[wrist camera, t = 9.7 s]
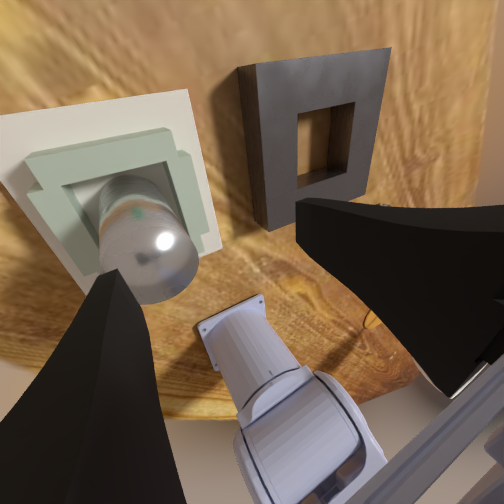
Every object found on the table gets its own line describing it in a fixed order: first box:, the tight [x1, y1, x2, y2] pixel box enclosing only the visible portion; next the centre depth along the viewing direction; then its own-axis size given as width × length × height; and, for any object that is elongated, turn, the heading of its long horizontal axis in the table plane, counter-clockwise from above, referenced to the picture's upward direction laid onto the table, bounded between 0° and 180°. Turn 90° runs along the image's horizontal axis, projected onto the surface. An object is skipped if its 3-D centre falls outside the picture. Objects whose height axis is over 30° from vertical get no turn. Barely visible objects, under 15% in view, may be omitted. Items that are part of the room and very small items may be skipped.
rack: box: [0, 89, 223, 296], centre depth 16 cm, size 12×11×2 cm
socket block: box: [237, 47, 392, 232], centre depth 20 cm, size 12×12×2 cm
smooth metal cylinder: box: [99, 175, 199, 305], centre depth 13 cm, size 4×4×8 cm
